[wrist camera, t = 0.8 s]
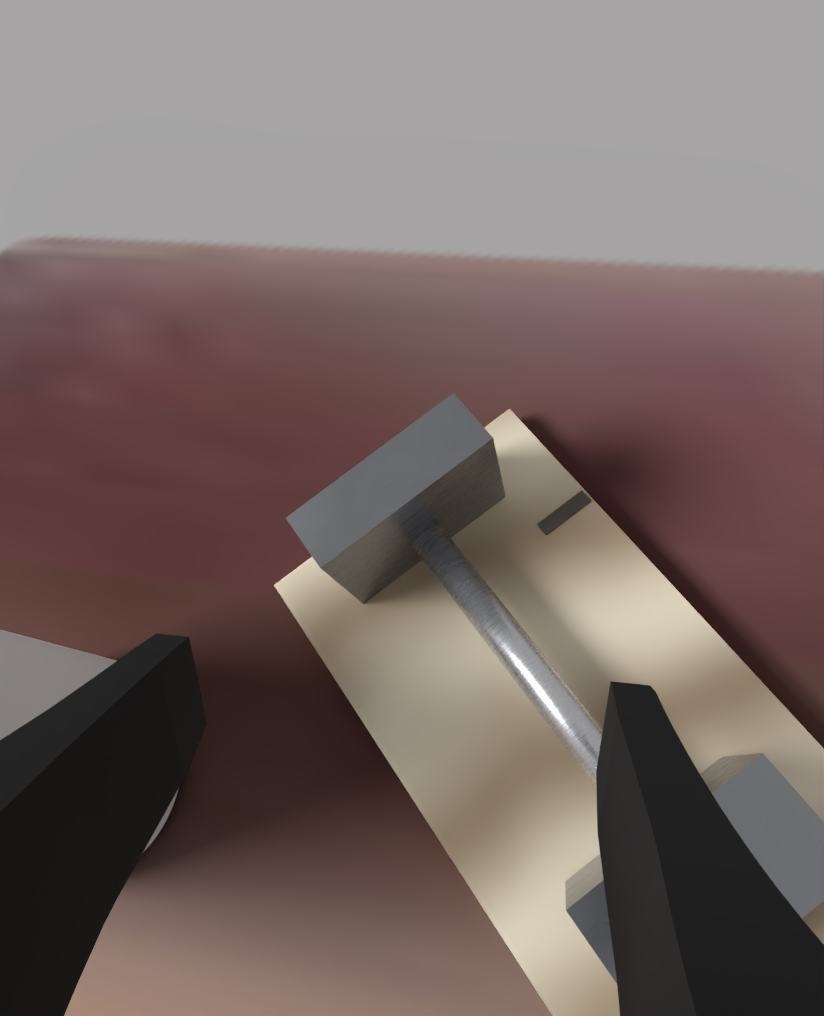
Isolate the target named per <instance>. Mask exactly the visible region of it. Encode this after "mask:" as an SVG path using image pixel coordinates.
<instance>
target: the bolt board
mask: <svg viewBox="0 0 824 1016" xmlns="http://www.w3.org/2000/svg"><path fill="white" fill-rule="evenodd" d="M286 519H287V521H288V522H289V523H290V525H291V526H292V528H293V529H294V531H295V532H296V534H297V535H298V537H299V538H300V539H301V541H302V542H303V544H304V545H305V547H306V548H307V550H308V551H309V553H310V554H311V555H312V557H311V558H310V559H308V560H307V561H306V562H304V563H303V564H302V565H300V566H299V567H298V568H296V569H295V570H294V571H292V572H291V573H290V574H288V575H287V576H286V577H284V578H283V579H282V580H280V581H279V582H278V583H276V584H275V585H274V586H275V588H276V589H277V591H278V592H279V594H280V595H281V597H282V598H283V600H284V601H285V603H286V604H287V606H288V608H289V609H290V611H291V612H292V614H293V615H294V617H295V618H296V620H297V621H298V623H299V625H300V626H301V628H302V629H303V631H304V632H305V634H306V635H307V637H308V638H309V640H310V642H311V643H312V645H313V646H314V648H315V649H316V651H317V652H318V654H319V655H320V657H321V659H322V660H323V662H324V663H325V665H326V666H327V668H328V669H329V671H330V672H331V674H332V676H333V677H334V679H335V680H336V682H337V683H338V685H339V686H340V688H341V689H342V691H343V693H344V694H345V696H346V697H347V699H348V700H349V702H350V703H351V705H352V706H353V708H354V710H355V711H356V713H357V714H358V716H359V717H360V719H361V720H362V722H363V723H364V725H365V727H366V728H367V730H368V731H369V733H370V734H371V736H372V737H373V739H374V740H375V742H376V744H377V745H378V747H379V748H380V750H381V751H382V753H383V754H384V756H385V757H386V759H387V760H388V762H389V764H390V765H391V767H392V768H393V770H394V771H395V773H396V774H397V776H398V777H399V779H400V781H401V782H402V784H403V785H404V787H405V788H406V790H407V791H408V793H409V794H410V796H411V798H412V799H413V801H414V802H415V804H416V805H417V807H418V808H419V810H420V811H421V813H422V815H423V816H424V818H425V819H426V821H427V822H428V824H429V825H430V827H431V828H432V830H433V832H434V833H435V835H436V836H437V838H438V839H439V841H440V842H441V844H442V845H443V847H444V849H445V850H446V852H447V853H448V855H449V856H450V858H451V859H452V861H453V862H454V864H455V866H456V867H457V869H458V870H459V872H460V873H461V875H462V876H463V878H464V879H465V881H466V883H467V884H468V886H469V887H470V889H471V890H472V892H473V893H474V895H475V896H476V898H477V900H478V901H479V903H480V904H481V906H482V907H483V909H484V910H485V912H486V913H487V915H488V916H489V918H490V920H491V921H492V923H493V924H494V926H495V927H496V929H497V930H498V932H499V933H500V935H501V937H502V938H503V940H504V941H505V943H506V944H507V946H508V947H509V949H510V950H511V952H512V954H513V955H514V957H515V958H516V960H517V961H518V963H519V964H520V966H521V967H522V969H523V971H524V972H525V974H526V975H527V977H528V978H529V980H530V981H531V983H532V984H533V986H534V988H535V989H536V991H537V992H538V994H539V995H540V997H541V998H542V1000H543V1001H544V1003H545V1005H546V1006H547V1008H548V1009H549V1011H550V1012H551V1014H552V1015H553V1016H620V1009H619V998H618V987H617V983H616V982H615V980H614V979H613V978H612V976H611V975H610V973H609V972H608V970H607V969H606V968H605V966H604V965H603V963H602V962H601V960H600V959H599V957H598V956H597V955H596V953H595V952H594V950H593V949H592V947H591V946H590V944H589V943H588V942H587V940H586V939H585V937H584V936H583V934H582V933H581V931H580V930H579V929H578V927H577V926H576V924H575V923H574V921H573V920H572V918H571V917H570V916H569V914H568V913H567V911H566V893H565V881H566V880H568V879H569V878H570V877H571V876H573V875H574V874H575V873H576V872H578V871H579V870H580V869H582V868H583V867H584V866H585V865H587V864H588V863H589V862H590V861H592V860H593V859H594V858H595V857H597V856H598V855H599V854H600V848H599V840H598V828H597V785H596V770H597V763H598V757H599V751H600V744H601V738H602V732H603V726H604V719H605V713H606V707H607V700H608V694H609V688H610V681H613V682H622V683H632V684H641V685H650V686H651V687H652V688H653V689H654V690H655V691H656V693H657V695H658V698H659V700H660V702H661V704H662V706H663V708H664V710H665V712H666V714H667V716H668V718H669V720H670V722H671V724H672V726H673V728H674V729H675V731H676V733H677V735H678V737H679V739H680V741H681V742H682V744H683V746H684V748H685V749H686V751H687V753H688V755H689V757H690V758H691V760H692V762H693V763H694V765H695V767H696V769H697V770H698V772H699V774H701V773H702V772H704V771H705V770H706V769H707V768H709V767H710V766H711V765H712V764H714V763H715V762H716V761H717V760H719V759H720V758H721V757H724V756H735V755H746V754H757V753H763V754H764V755H765V756H766V757H767V758H768V760H769V761H770V762H771V763H772V764H773V765H774V766H775V767H776V769H777V770H778V771H779V772H780V773H781V774H782V775H783V777H784V778H785V779H786V780H787V781H788V782H789V783H790V784H791V786H792V787H793V788H794V789H795V790H796V791H797V792H798V793H799V795H800V796H801V797H802V798H803V799H804V800H805V801H806V803H807V804H808V805H809V806H810V807H811V808H812V809H813V810H814V812H815V813H816V814H817V815H818V816H819V817H820V818H821V820H822V821H823V822H824V748H823V747H822V746H821V745H820V744H819V743H818V742H817V741H816V740H815V739H814V738H813V737H812V735H811V734H810V733H809V732H808V731H807V730H806V729H805V728H804V727H803V726H802V725H801V724H800V722H799V721H798V720H797V719H796V718H795V717H794V716H793V715H792V714H791V713H790V712H789V711H788V709H787V708H786V707H785V706H784V705H783V704H782V703H781V702H780V701H779V700H778V699H777V698H776V697H775V695H774V694H773V693H772V692H771V691H770V690H769V689H768V688H767V687H766V686H765V685H764V684H763V682H762V681H761V680H760V679H759V678H758V677H757V676H756V675H755V674H754V673H753V672H752V671H751V669H750V668H749V667H748V666H747V665H746V664H745V663H744V662H743V661H742V660H741V659H740V658H739V656H738V655H737V654H736V653H735V652H734V651H733V650H732V649H731V648H730V647H729V646H728V645H727V643H726V642H725V641H724V640H723V639H722V638H721V637H720V636H719V635H718V634H717V633H716V632H715V630H714V629H713V628H712V627H711V626H710V625H709V624H708V623H707V622H706V621H705V620H704V619H703V617H702V616H701V615H700V614H699V613H698V612H697V611H696V610H695V609H694V608H693V607H692V606H691V605H690V603H689V602H688V601H687V600H686V599H685V598H684V597H683V596H682V595H681V594H680V593H679V592H678V590H677V589H676V588H675V587H674V586H673V585H672V584H671V583H670V582H669V581H668V580H667V579H666V577H665V576H664V575H663V574H662V573H661V572H660V571H659V570H658V569H657V568H656V567H655V566H654V564H653V563H652V562H651V561H650V560H649V559H648V558H647V557H646V556H645V555H644V554H643V553H642V551H641V550H640V549H639V548H638V547H637V546H636V545H635V544H634V543H633V542H632V541H631V540H630V538H629V537H628V536H627V535H626V534H625V533H624V532H623V531H622V530H621V529H620V528H619V527H618V525H617V524H616V523H615V522H614V521H613V520H612V519H611V518H610V517H609V516H608V515H607V514H606V513H605V511H604V510H603V509H602V508H601V507H600V506H599V505H598V504H597V503H596V502H595V501H594V500H593V498H592V497H591V496H590V495H589V494H588V493H587V492H586V491H585V490H584V489H583V488H582V487H581V485H580V484H579V483H578V482H577V481H576V480H575V479H574V478H573V477H572V476H571V475H570V474H569V472H568V471H567V470H566V469H565V468H564V467H563V466H562V465H561V464H560V463H559V462H558V461H557V459H556V458H555V457H554V456H553V455H552V454H551V453H550V452H549V451H548V450H547V449H546V448H545V446H544V445H543V444H542V443H541V442H540V441H539V440H538V439H537V438H536V437H535V436H534V435H533V434H532V432H531V431H530V430H529V429H528V428H527V427H526V426H525V425H524V424H523V423H522V422H521V421H520V419H519V418H518V417H517V416H516V415H515V414H514V413H513V412H512V411H511V410H510V409H508V410H507V411H506V412H504V413H503V414H502V415H500V416H499V417H498V418H496V419H495V420H494V421H492V422H491V423H490V424H488V425H487V426H486V427H483V426H482V425H481V424H480V423H479V421H478V420H477V419H476V418H475V417H474V416H473V415H472V414H471V412H470V411H469V410H468V409H467V408H466V407H465V406H464V405H463V403H462V402H461V401H460V400H459V399H458V398H457V397H456V396H455V394H454V393H453V394H452V395H450V396H449V397H448V398H446V399H445V400H444V401H442V402H441V403H440V404H438V405H437V406H435V407H434V408H433V409H431V410H430V411H429V412H427V413H426V414H425V415H423V416H422V417H421V418H419V419H418V420H417V421H415V422H414V423H413V424H411V425H410V426H409V427H407V428H406V429H405V430H403V431H402V432H401V433H399V434H398V435H397V436H395V437H394V438H392V439H391V440H390V441H388V442H387V443H386V444H384V445H383V446H382V447H380V448H379V449H378V450H376V451H375V452H374V453H372V454H371V455H370V456H368V457H367V458H366V459H364V460H363V461H362V462H360V463H359V464H358V465H356V466H355V467H354V468H352V469H351V470H349V471H348V472H347V473H345V474H344V475H343V476H341V477H340V478H339V479H337V480H336V481H335V482H333V483H332V484H331V485H329V486H328V487H327V488H325V489H324V490H323V491H321V492H320V493H319V494H317V495H316V496H315V497H313V498H312V499H311V500H309V501H308V502H306V503H305V504H304V505H302V506H301V507H300V508H298V509H297V510H296V511H294V512H293V513H292V514H290V515H289V516H288V517H286ZM802 919H803V921H804V922H805V923H806V924H807V925H808V926H809V928H810V929H811V930H812V931H813V932H814V934H815V935H816V936H817V937H818V938H819V939H820V941H821V942H822V943H823V944H824V901H823V902H822V903H820V904H819V905H818V906H817V907H816V908H814V909H813V910H812V911H811V912H809V913H808V914H807V915H806V916H804V917H803V918H802Z"/></svg>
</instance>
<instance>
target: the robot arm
mask: <svg viewBox="0 0 824 1016" xmlns="http://www.w3.org/2000/svg"><path fill="white" fill-rule="evenodd" d="M205 725H206V719H205V714H204V709H203V705H202V700H201V695H200V690H199V685H198V680H197V675H196V670H195V665H194V660H193V655H192V650H191V645H190V640H189V637H182V636H173V635H163V634H156V635H154V636H153V637H151V638H149V639H148V640H146V641H145V642H143V643H142V644H140V645H139V646H138V647H136V648H135V649H133V650H132V651H130V652H129V653H127V654H126V655H125V656H123V657H122V658H120V659H119V660H118V661H116V662H115V663H113V664H112V665H111V666H109V667H108V668H106V669H105V670H104V671H102V672H101V673H99V674H98V675H97V676H95V677H94V678H92V679H91V680H89V681H88V682H87V683H85V684H84V685H82V686H81V687H79V688H78V689H77V690H75V691H74V692H72V693H71V694H69V695H68V696H67V697H65V698H64V699H62V700H61V701H59V702H58V703H57V704H55V705H54V706H52V707H51V708H49V709H48V710H46V711H45V712H43V713H42V714H40V715H38V716H37V717H35V718H34V719H32V720H31V721H29V722H28V723H26V724H25V725H23V726H21V727H20V728H18V729H17V730H15V731H14V732H12V733H11V734H9V735H7V736H6V737H4V738H3V739H1V740H0V1016H64V1014H65V1012H66V1009H67V1007H68V1004H69V1002H70V1000H71V997H72V995H73V993H74V990H75V988H76V985H77V983H78V981H79V979H80V976H81V974H82V972H83V970H84V967H85V965H86V963H87V961H88V958H89V956H90V954H91V952H92V949H93V947H94V945H95V943H96V940H97V938H98V936H99V934H100V931H101V929H102V927H103V925H104V923H105V921H106V919H107V917H108V915H109V913H110V911H111V909H112V907H113V905H114V903H115V901H116V899H117V897H118V896H119V894H120V892H121V890H122V888H123V887H124V885H125V883H126V881H127V880H128V878H129V876H130V874H131V872H132V871H133V869H134V867H135V865H136V864H137V862H138V860H139V858H140V857H141V855H142V853H143V851H144V849H145V848H146V846H147V844H148V842H149V841H150V839H151V837H152V835H153V833H154V832H155V830H156V828H157V826H158V825H159V823H160V821H161V819H162V817H163V816H164V814H165V812H166V810H167V808H168V807H169V805H170V803H171V801H172V799H173V798H174V796H175V794H176V792H177V790H178V788H179V787H180V785H181V783H182V781H183V779H184V777H185V775H186V773H187V770H188V768H189V766H190V763H191V761H192V758H193V756H194V754H195V751H196V749H197V746H198V743H199V741H200V738H201V736H202V733H203V730H204V728H205ZM596 785H597V828H598V840H599V848H600V856H601V864H602V872H603V879H604V887H605V894H606V902H607V910H608V917H609V925H610V932H611V940H612V947H613V955H614V962H615V970H616V977H617V987H618V998H619V1009H620V1016H824V944H823V943H822V942H821V941H820V939H819V938H818V937H817V936H816V935H815V934H814V932H813V931H812V930H811V929H810V928H809V926H808V925H807V924H806V923H805V922H804V921H803V919H802V918H801V917H800V916H799V914H798V913H797V912H796V911H795V909H794V908H793V907H792V906H791V904H790V903H789V902H788V901H787V899H786V898H785V897H784V896H783V894H782V893H781V892H780V890H779V889H778V888H777V887H776V885H775V884H774V883H773V881H772V880H771V879H770V877H769V876H768V875H767V873H766V872H765V871H764V869H763V868H762V867H761V865H760V864H759V862H758V861H757V860H756V858H755V857H754V856H753V854H752V853H751V851H750V850H749V848H748V847H747V846H746V844H745V843H744V841H743V840H742V838H741V837H740V836H739V834H738V833H737V831H736V830H735V828H734V827H733V825H732V824H731V822H730V821H729V819H728V818H727V816H726V815H725V813H724V812H723V810H722V809H721V807H720V806H719V804H718V803H717V801H716V799H715V798H714V796H713V794H712V793H711V791H710V790H709V788H708V786H707V785H706V783H705V782H704V780H703V778H702V777H701V775H700V774H699V772H698V770H697V769H696V767H695V765H694V763H693V762H692V760H691V758H690V757H689V755H688V753H687V751H686V749H685V748H684V746H683V744H682V742H681V741H680V739H679V737H678V735H677V733H676V731H675V729H674V728H673V726H672V724H671V722H670V720H669V718H668V716H667V714H666V712H665V710H664V708H663V706H662V704H661V702H660V700H659V698H658V695H657V693H656V691H655V690H654V689H653V688H652V687H651V686H650V685H641V684H632V683H622V682H613V681H610V688H609V694H608V700H607V707H606V713H605V719H604V726H603V732H602V738H601V744H600V751H599V757H598V763H597V770H596Z"/></svg>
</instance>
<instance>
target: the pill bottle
mask: <svg viewBox="0 0 824 1016" xmlns="http://www.w3.org/2000/svg"><path fill="white" fill-rule="evenodd" d="M115 662H116V660H113V659H109V658H105V657H102V656H98V655H94V654H90V653H86V652H83V651H79V650H75V649H71V648H68V647H64V646H60V645H56V644H52V643H49V642H45V641H41V640H37V639H34V638H30V637H26V636H22V635H19V634H15V633H11V632H7V631H3V630H0V740H1V739H3V738H4V737H6V736H7V735H9V734H11V733H12V732H14V731H15V730H17V729H18V728H20V727H21V726H23V725H25V724H26V723H28V722H29V721H31V720H32V719H34V718H35V717H37V716H38V715H40V714H42V713H43V712H45V711H46V710H48V709H49V708H51V707H52V706H54V705H55V704H57V703H58V702H59V701H61V700H62V699H64V698H65V697H67V696H68V695H69V694H71V693H72V692H74V691H75V690H77V689H78V688H79V687H81V686H82V685H84V684H85V683H87V682H88V681H89V680H91V679H92V678H94V677H95V676H97V675H98V674H99V673H101V672H102V671H104V670H105V669H106V668H108V667H109V666H111V665H112V664H113V663H115ZM178 789H179V788H178ZM177 793H178V790H177V792H176V794H175V796H174V798H173V799H172V801H171V803H170V805H169V807H168V808H167V810H166V812H165V814H164V816H163V817H162V819H161V821H160V823H159V825H158V826H157V828H156V830H155V832H154V833H153V835H152V837H151V839H150V841H149V842H148V844H147V846H146V848H145V849H144V851H145V850H146V849H147V848H148V847H149V846H150V844H151V843H152V842H153V841H154V839H155V838H156V837H157V835H158V834H159V832H160V831H161V829H162V827H163V826H164V824H165V822H166V820H167V818H168V816H169V814H170V812H171V810H172V807H173V805H174V802H175V799H176V796H177ZM144 851H143V852H144Z"/></svg>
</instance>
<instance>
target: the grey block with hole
mask: <svg viewBox="0 0 824 1016" xmlns="http://www.w3.org/2000/svg"><path fill="white" fill-rule="evenodd" d="M700 775H701V777H702V778H703V780H704V782H705V783H706V785H707V786H708V788H709V790H710V791H711V793H712V794H713V796H714V798H715V799H716V801H717V803H718V804H719V806H720V807H721V809H722V810H723V812H724V813H725V815H726V816H727V818H728V819H729V821H730V822H731V824H732V825H733V827H734V828H735V830H736V831H737V833H738V834H739V836H740V837H741V838H742V840H743V841H744V843H745V844H746V846H747V847H748V848H749V850H750V851H751V853H752V854H753V856H754V857H755V858H756V860H757V861H758V862H759V864H760V865H761V867H762V868H763V869H764V871H765V872H766V873H767V875H768V876H769V877H770V879H771V880H772V881H773V883H774V884H775V885H776V887H777V888H778V889H779V890H780V892H781V893H782V894H783V896H784V897H785V898H786V899H787V901H788V902H789V903H790V904H791V906H792V907H793V908H794V909H795V911H796V912H797V913H798V914H799V916H800V917H801V918H803V917H804V916H806V915H807V914H808V913H809V912H811V911H812V910H813V909H814V908H816V907H817V906H818V905H819V904H820V903H822V902H823V901H824V822H823V821H822V820H821V818H820V817H819V816H818V815H817V814H816V813H815V812H814V810H813V809H812V808H811V807H810V806H809V805H808V804H807V803H806V801H805V800H804V799H803V798H802V797H801V796H800V795H799V793H798V792H797V791H796V790H795V789H794V788H793V787H792V786H791V784H790V783H789V782H788V781H787V780H786V779H785V778H784V777H783V775H782V774H781V773H780V772H779V771H778V770H777V769H776V767H775V766H774V765H773V764H772V763H771V762H770V761H769V760H768V758H767V757H766V756H765V755H764V754H763V753H757V754H746V755H735V756H724V757H721V758H720V759H719V760H717V761H716V762H715V763H714V764H712V765H711V766H710V767H709V768H707V769H706V770H705V771H704V772H702V773H701V774H700ZM565 893H566V911H567V913H568V914H569V916H570V917H571V918H572V920H573V921H574V923H575V924H576V926H577V927H578V929H579V930H580V931H581V933H582V934H583V936H584V937H585V939H586V940H587V942H588V943H589V944H590V946H591V947H592V949H593V950H594V952H595V953H596V955H597V956H598V957H599V959H600V960H601V962H602V963H603V965H604V966H605V968H606V969H607V970H608V972H609V973H610V975H611V976H612V978H613V979H614V980H615V982H616V983H617V977H616V970H615V962H614V955H613V947H612V940H611V932H610V925H609V917H608V910H607V902H606V894H605V887H604V879H603V872H602V864H601V856H600V854H599V855H598V856H597V857H595V858H594V859H593V860H592V861H590V862H589V863H588V864H587V865H585V866H584V867H583V868H582V869H580V870H579V871H578V872H576V873H575V874H574V875H573V876H571V877H570V878H569V879H568V880H566V881H565Z"/></svg>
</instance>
